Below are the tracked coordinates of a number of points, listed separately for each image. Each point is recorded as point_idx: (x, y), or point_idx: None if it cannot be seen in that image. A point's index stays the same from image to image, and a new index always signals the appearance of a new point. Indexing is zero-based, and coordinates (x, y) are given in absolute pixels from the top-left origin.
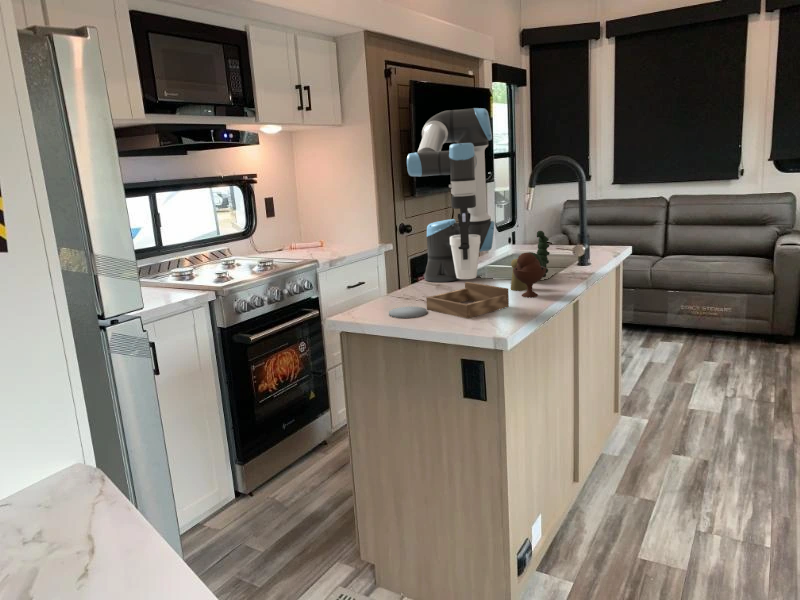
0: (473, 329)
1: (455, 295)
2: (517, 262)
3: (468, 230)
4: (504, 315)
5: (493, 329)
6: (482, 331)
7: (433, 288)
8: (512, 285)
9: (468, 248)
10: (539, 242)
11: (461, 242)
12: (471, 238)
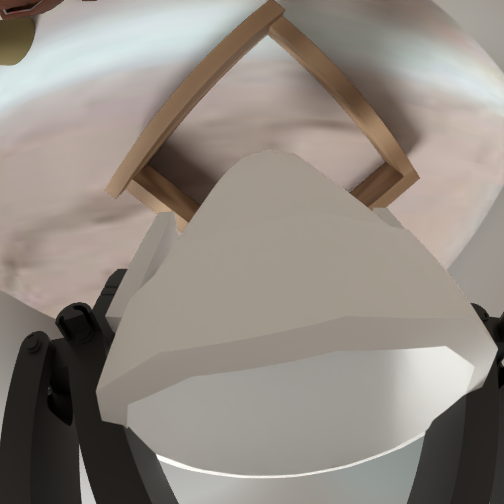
0: (484, 160)
1: (186, 212)
2: None
3: (145, 488)
4: (385, 49)
5: (493, 117)
6: (498, 145)
7: (36, 272)
8: (14, 54)
9: (477, 308)
10: None
11: (502, 378)
12: (485, 368)
